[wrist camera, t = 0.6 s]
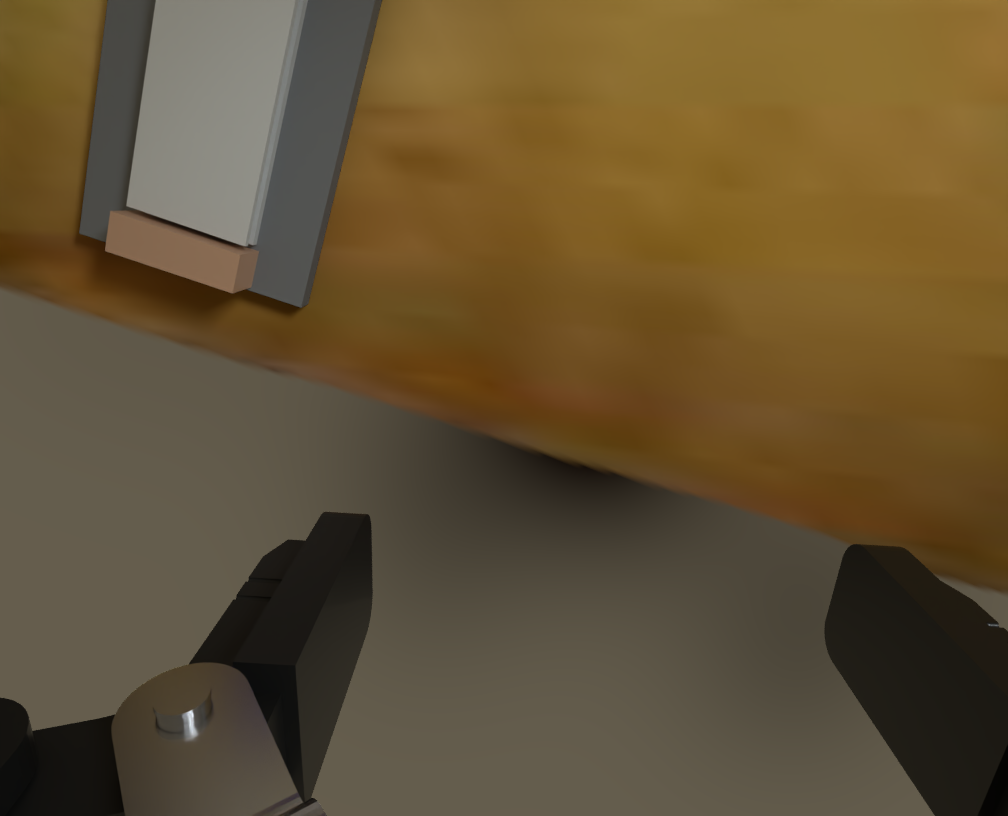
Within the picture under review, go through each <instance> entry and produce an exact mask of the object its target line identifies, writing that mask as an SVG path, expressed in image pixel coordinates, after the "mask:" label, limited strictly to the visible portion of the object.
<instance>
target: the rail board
mask: <svg viewBox="0 0 1008 816" xmlns="http://www.w3.org/2000/svg"><path fill="white" fill-rule="evenodd" d="M381 2H382V0H108V2H107V10H106V19H105V27H104V35H103V43H102V51H101V59H100V68H99V76H98V84H97V92H96V100H95V108H94V117H93V125H92V133H91V141H90V149H89V157H88V166H87V174H86V182H85V190H84V198H83V206H82V215H81V223H80V231H79V233H80V234H83V235H86V236H89V237H91V238H94V239H97V240H100V241H103V242H106V246H105V251H106V252H109V253H112V254H115V255H118V256H121V257H124V258H127V259H130V260H133V261H136V262H139V263H142V264H145V265H148V266H151V267H154V268H157V269H160V270H163V271H166V272H169V273H172V274H175V275H178V276H181V277H184V278H187V279H190V280H193V281H196V282H199V283H202V284H205V285H208V286H211V287H214V288H217V289H220V290H223V291H226V292H229V293H232V294H233V293H236V292H239V291H242V290H245V289H247V290H250V291H253V292H256V293H259V294H262V295H265V296H268V297H271V298H274V299H277V300H280V301H282V302H285V303H288V304H291V305H294V306H297V307H300V308H302V307H303V306H305V305H307V304H308V302H309V298H310V294H311V289H312V285H313V281H314V277H315V273H316V269H317V265H318V261H319V257H320V253H321V248H322V244H323V240H324V236H325V232H326V228H327V224H328V220H329V216H330V211H331V207H332V203H333V199H334V195H335V191H336V187H337V183H338V179H339V175H340V170H341V166H342V162H343V158H344V154H345V150H346V146H347V142H348V138H349V133H350V129H351V125H352V121H353V117H354V113H355V109H356V105H357V101H358V96H359V92H360V88H361V84H362V80H363V76H364V72H365V68H366V64H367V60H368V55H369V51H370V47H371V43H372V39H373V35H374V31H375V27H376V23H377V18H378V14H379V10H380V6H381Z"/></svg>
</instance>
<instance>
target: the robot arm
mask: <svg viewBox="0 0 1008 816" xmlns="http://www.w3.org/2000/svg"><path fill="white" fill-rule="evenodd" d="M371 534H372V533H371V521H370V516H369V515H368V514H353V513H352V514H351V513H336V512H324V513H323V514H322V515H321V516H320V518H319V519H318V521H317V523H316V524H315V526H314V528H313V529H312V531H311V533H310V534H309V536H308V538H307V539H306V541H302V540H287V541H285V542H284V543H282V544H281V545H280V546H278V547H277V548H275V549H274V550H272V551H271V552H269V553H268V554H267V555H265V556H263V558H262V559H261V560H260V562H259V563H258V565H257V566H256V568H255V569H254V571H253V572H252V574H251V575H250V576H249V581H248V582H245V584H244V585H243V587H242V588H241V589H240V591H239V592H238V594H237V598H236V600H233V601H232V602H231V604H230V605H229V607H228V608H227V610H226V611H225V613H224V614H223V615H222V617H221V618H220V620H219V621H218V623H217V624H216V626H215V627H214V628H213V630H212V631H211V633H210V634H209V636H208V637H207V639H206V640H205V641H204V643H203V644H202V646H201V647H200V649H199V650H198V652H197V653H196V654H195V656H194V657H193V659H192V660H191V662H190V663H189V665H184V666H181V667H177V668H174V669H171V670H168V671H166V672H163V673H161V674H159V675H157V676H155V677H153V678H151V679H150V680H148V681H147V682H146V683H144V684H142V685H141V686H139V687H138V688H137V689H136V690H135V691H133V692H132V693H131V694H130V695H129V696H128V697H127V698H126V699H125V700H124V702H123V703H122V704H121V706H120V707H119V709H118V710H117V712H116V714H115V715H112V716H107V717H103V718H99V719H94V720H88V721H83V722H79V723H73V724H67V725H63V726H57V727H52V728H46V729H41V730H36V731H32V728H31V724H30V720H29V716H28V714H27V712H26V710H25V708H24V707H23V706H22V705H21V704H19V703H17V702H15V701H13V700H9V699H5V698H0V816H327V815H326V813H325V812H324V810H323V808H322V807H321V805H320V804H319V803H318V802H317V800H316V799H314V798H311V796H312V793H313V790H314V787H315V784H316V781H317V778H318V775H319V772H320V769H321V766H322V763H323V760H324V758H325V754H326V752H327V749H328V746H329V743H330V739H331V736H332V734H333V731H334V728H335V725H336V722H337V719H338V716H339V713H340V710H341V707H342V704H343V702H344V699H345V696H346V693H347V690H348V687H349V684H350V681H351V678H352V675H353V672H354V669H355V666H356V663H357V660H358V657H359V654H360V651H361V648H362V646H363V642H364V640H365V637H366V634H367V630H368V627H369V621H370V616H371V609H372V593H373V592H372V591H373V590H372V538H371ZM825 641H826V646H827V650H828V653H829V656H830V658H831V660H832V662H833V663H834V665H835V666H836V668H837V669H838V671H839V672H840V674H841V675H842V677H843V678H844V680H845V681H846V683H847V684H848V686H849V687H850V689H851V690H852V692H853V693H854V695H855V696H856V698H857V699H858V701H859V702H860V704H861V705H862V707H863V708H864V710H865V711H866V713H867V714H868V716H869V717H870V719H871V720H872V722H873V723H874V725H875V726H876V728H877V729H878V731H879V732H880V734H881V735H882V737H883V738H884V740H885V741H886V743H887V744H888V746H889V747H890V749H891V750H892V752H893V753H894V755H895V756H896V758H897V759H898V761H899V762H900V764H901V765H902V767H903V768H904V770H905V771H906V773H907V775H908V776H909V777H910V779H911V781H912V782H913V783H914V785H915V786H916V788H917V790H918V791H919V793H920V794H921V796H922V797H923V799H924V800H925V801H926V803H927V804H928V806H929V808H930V809H931V810H932V812H933V814H934V815H935V816H1008V631H1007V630H1006V629H1004V628H999V626H998V622H997V621H996V620H994V619H993V618H992V617H991V616H990V615H989V614H988V613H987V612H986V611H985V610H983V609H982V608H981V607H980V606H979V605H978V604H977V603H976V602H975V601H973V600H972V599H970V598H969V597H967V596H965V595H963V594H962V593H960V592H959V591H957V590H955V589H954V588H952V587H950V586H949V585H947V584H945V583H944V582H942V581H940V580H939V579H938V578H937V577H936V576H935V575H934V574H933V573H932V572H931V571H929V570H928V569H927V568H926V567H925V566H924V565H923V564H922V563H921V562H920V561H919V560H918V559H917V558H915V557H914V556H913V555H912V554H911V553H910V552H909V551H908V550H906V549H905V548H902V547H895V546H878V545H861V544H854V545H851V546H850V547H848V549H847V550H846V551H845V553H844V556H843V558H842V562H841V566H840V569H839V573H838V577H837V580H836V584H835V588H834V591H833V595H832V599H831V602H830V606H829V610H828V614H827V617H826V621H825Z"/></svg>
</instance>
